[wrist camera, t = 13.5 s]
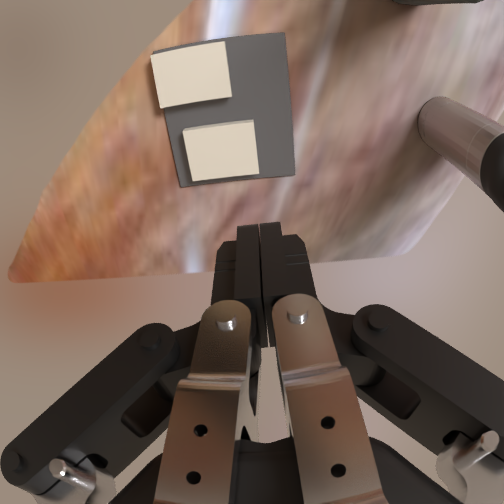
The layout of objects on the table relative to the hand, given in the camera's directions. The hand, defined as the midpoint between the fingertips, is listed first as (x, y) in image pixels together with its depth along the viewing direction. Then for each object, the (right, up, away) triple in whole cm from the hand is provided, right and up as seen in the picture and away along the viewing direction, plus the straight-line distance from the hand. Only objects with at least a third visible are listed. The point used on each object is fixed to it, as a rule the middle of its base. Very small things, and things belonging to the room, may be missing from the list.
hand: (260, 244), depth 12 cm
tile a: (-3, +24, +26) cm, 35 cm away
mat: (-4, +20, +31) cm, 37 cm away
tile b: (0, +15, +33) cm, 36 cm away
